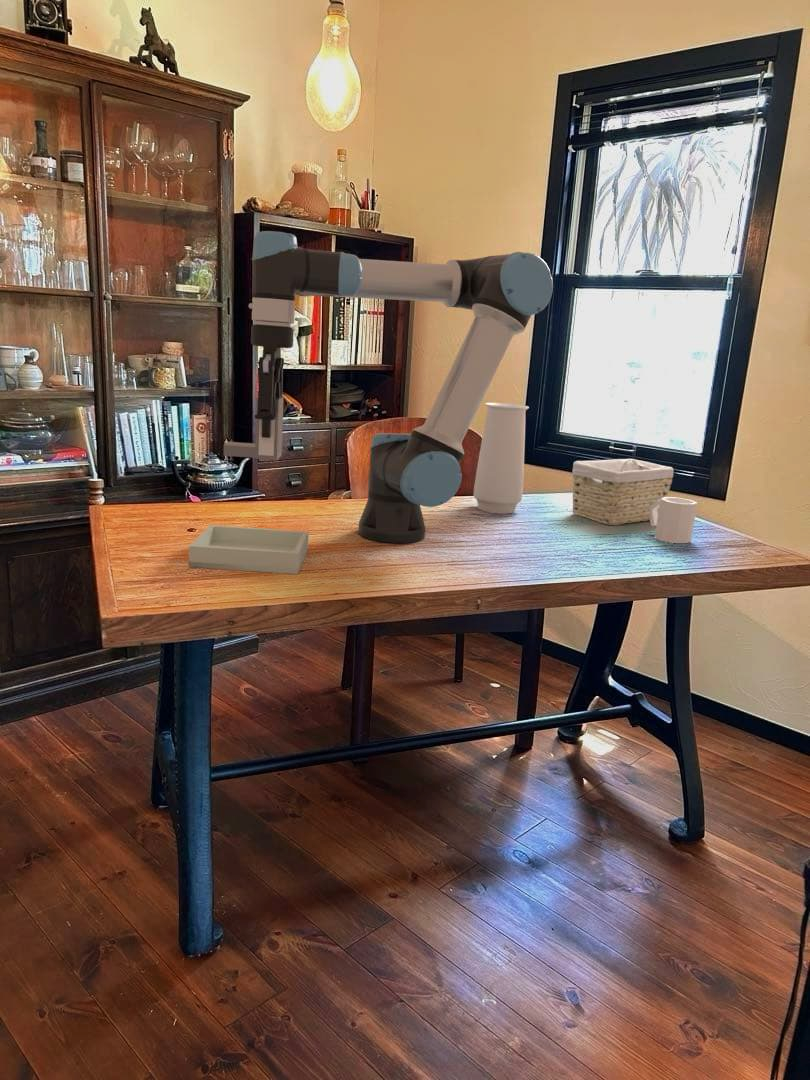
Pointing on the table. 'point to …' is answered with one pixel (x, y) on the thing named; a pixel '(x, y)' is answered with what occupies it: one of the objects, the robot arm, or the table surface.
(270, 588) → the table surface
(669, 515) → the mug
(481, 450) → the vase
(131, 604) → the table surface
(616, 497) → the storage basket
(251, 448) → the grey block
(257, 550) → the tray
